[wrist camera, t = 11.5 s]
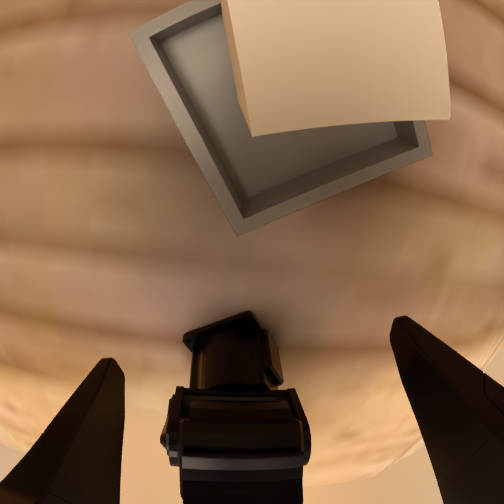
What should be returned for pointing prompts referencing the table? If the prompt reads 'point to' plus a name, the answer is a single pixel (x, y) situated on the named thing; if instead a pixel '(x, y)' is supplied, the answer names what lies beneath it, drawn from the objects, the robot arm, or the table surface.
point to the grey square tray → (264, 146)
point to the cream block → (336, 62)
